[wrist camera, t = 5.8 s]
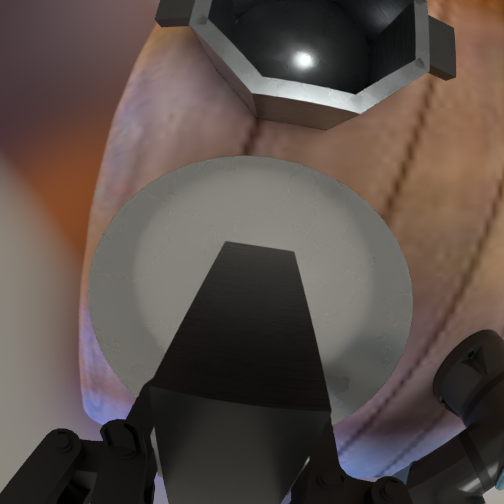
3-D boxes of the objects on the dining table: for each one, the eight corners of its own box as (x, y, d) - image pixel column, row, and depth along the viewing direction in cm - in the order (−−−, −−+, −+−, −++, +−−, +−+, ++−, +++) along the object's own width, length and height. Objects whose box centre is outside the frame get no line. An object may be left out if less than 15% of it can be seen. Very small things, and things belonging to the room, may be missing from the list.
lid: (344, 422, 19) (369, 551, 8) (122, 388, 20) (58, 504, 8) (426, 192, 14) (601, 256, 3) (114, 144, 14) (-75, 153, 3)
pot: (394, 147, 28) (456, 146, 16) (182, 112, 28) (134, 88, 16) (402, 21, 22) (450, -21, 11) (208, -14, 23) (185, -74, 11)
